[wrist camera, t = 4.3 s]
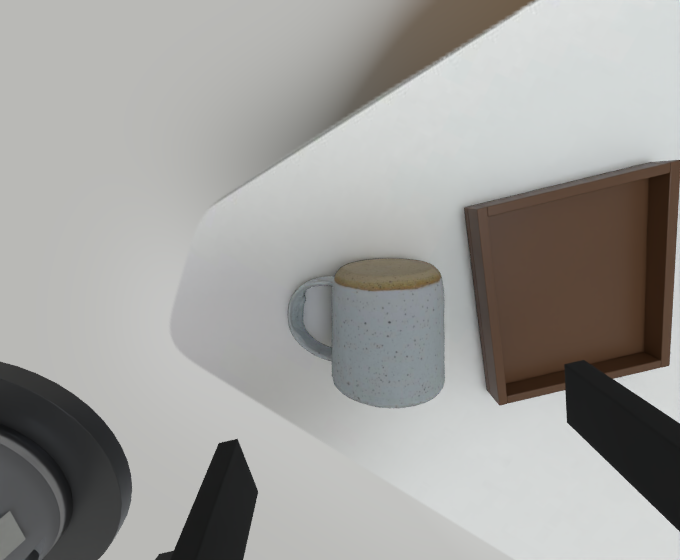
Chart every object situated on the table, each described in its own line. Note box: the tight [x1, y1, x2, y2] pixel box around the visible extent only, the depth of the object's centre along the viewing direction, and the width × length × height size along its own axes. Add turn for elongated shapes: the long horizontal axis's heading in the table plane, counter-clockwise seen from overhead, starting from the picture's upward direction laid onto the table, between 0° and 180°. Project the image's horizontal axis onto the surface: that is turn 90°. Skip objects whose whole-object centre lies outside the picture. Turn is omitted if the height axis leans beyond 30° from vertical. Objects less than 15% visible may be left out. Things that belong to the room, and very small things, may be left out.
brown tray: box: [464, 160, 680, 405], centre depth 25 cm, size 14×16×2 cm
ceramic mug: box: [288, 259, 445, 408], centre depth 22 cm, size 11×8×8 cm
